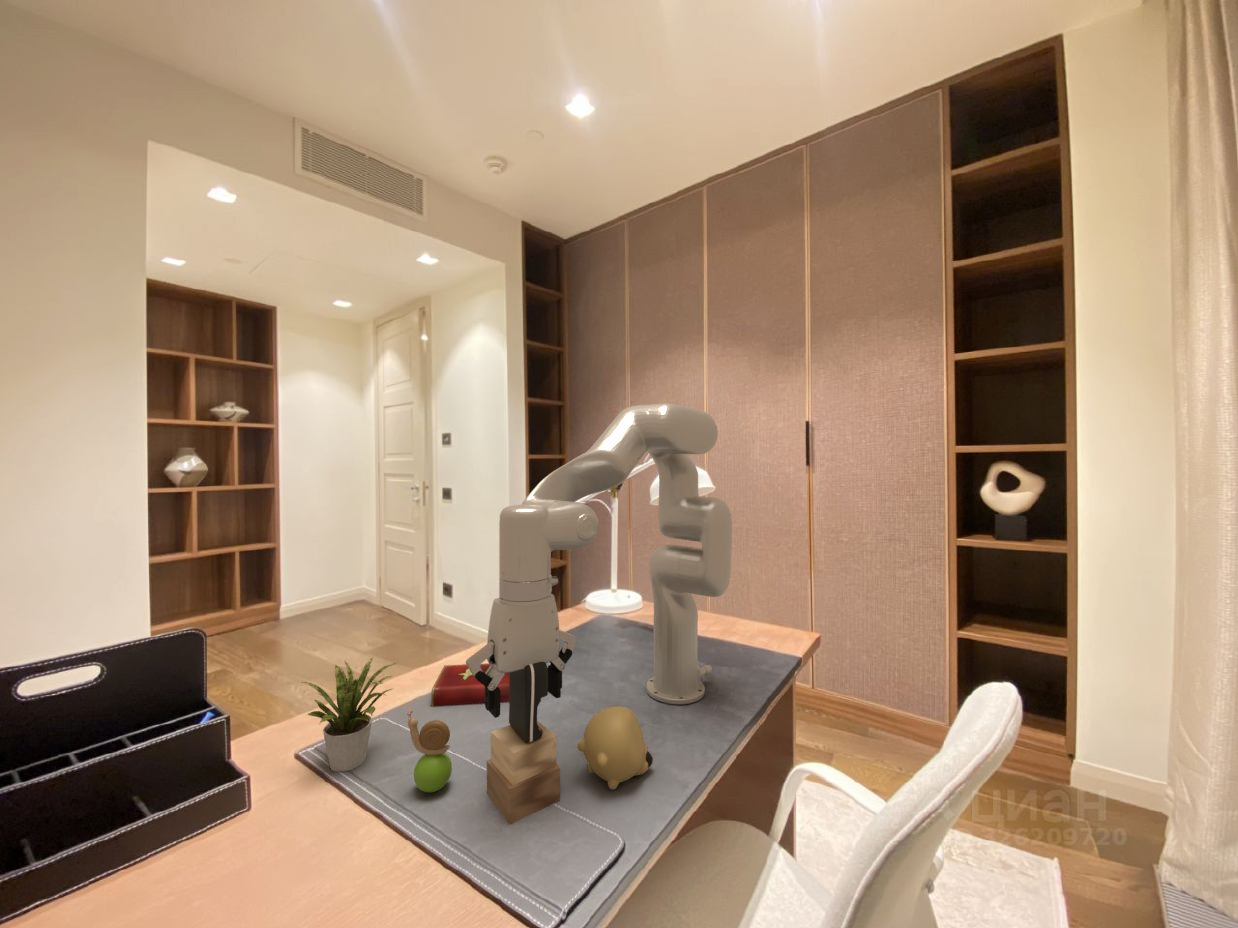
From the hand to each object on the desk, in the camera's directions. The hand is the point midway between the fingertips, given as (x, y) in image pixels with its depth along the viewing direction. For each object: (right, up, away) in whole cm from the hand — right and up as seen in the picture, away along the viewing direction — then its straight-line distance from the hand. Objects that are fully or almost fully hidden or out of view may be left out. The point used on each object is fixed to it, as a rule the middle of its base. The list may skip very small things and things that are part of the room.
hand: (524, 703), depth 73 cm
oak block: (0, -9, 0) cm, 9 cm away
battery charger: (0, -5, +1) cm, 5 cm away
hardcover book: (-14, -14, +34) cm, 40 cm away
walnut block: (0, -14, 0) cm, 14 cm away
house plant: (-29, -14, +8) cm, 34 cm away
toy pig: (+14, -14, +5) cm, 20 cm away
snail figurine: (-15, -14, +2) cm, 20 cm away
